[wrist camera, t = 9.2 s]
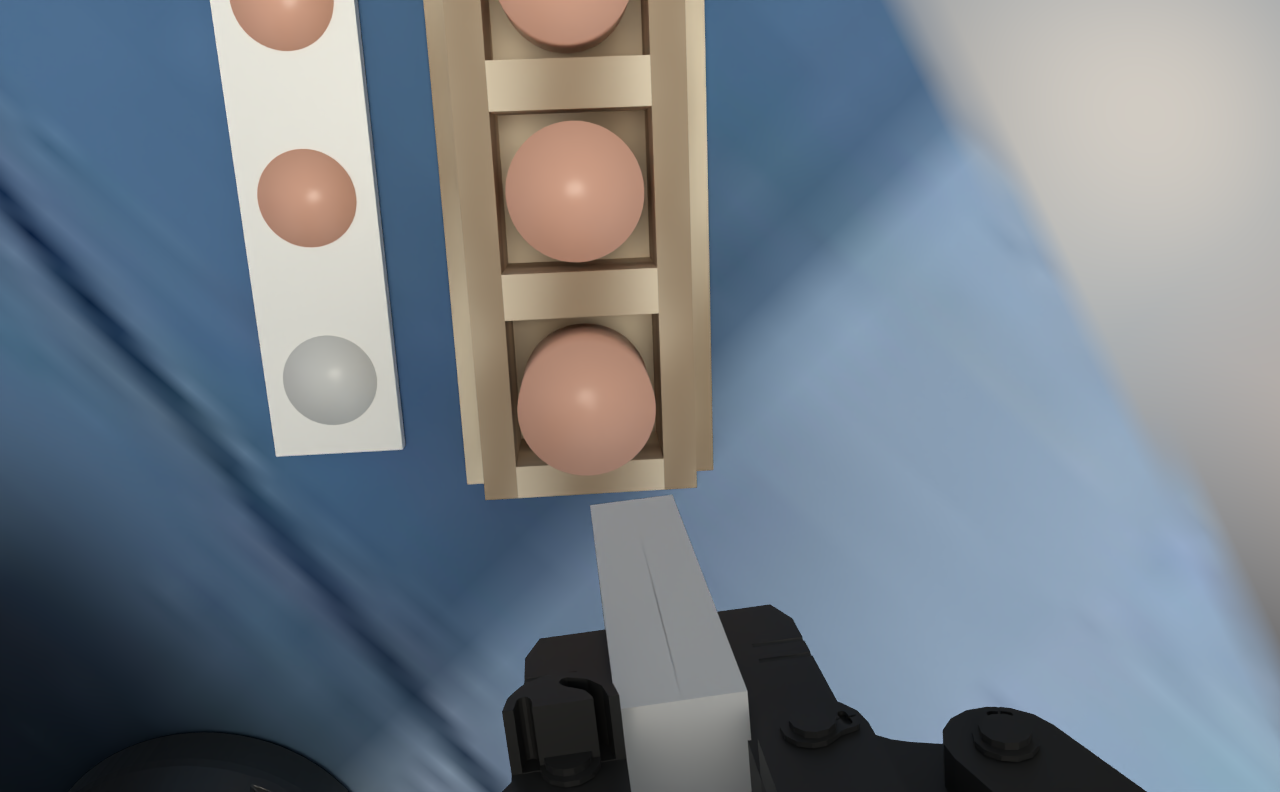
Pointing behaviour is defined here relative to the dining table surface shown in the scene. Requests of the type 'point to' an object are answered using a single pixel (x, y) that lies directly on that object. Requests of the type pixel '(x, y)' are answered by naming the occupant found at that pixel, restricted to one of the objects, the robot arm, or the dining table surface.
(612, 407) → the button
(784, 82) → the dining table surface
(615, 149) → the button middle
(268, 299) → the pattern card
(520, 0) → the button
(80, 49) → the dining table surface
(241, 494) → the dining table surface
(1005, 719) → the robot arm
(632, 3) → the button panel
